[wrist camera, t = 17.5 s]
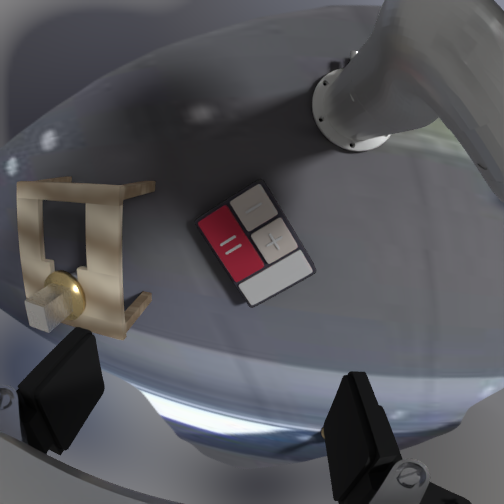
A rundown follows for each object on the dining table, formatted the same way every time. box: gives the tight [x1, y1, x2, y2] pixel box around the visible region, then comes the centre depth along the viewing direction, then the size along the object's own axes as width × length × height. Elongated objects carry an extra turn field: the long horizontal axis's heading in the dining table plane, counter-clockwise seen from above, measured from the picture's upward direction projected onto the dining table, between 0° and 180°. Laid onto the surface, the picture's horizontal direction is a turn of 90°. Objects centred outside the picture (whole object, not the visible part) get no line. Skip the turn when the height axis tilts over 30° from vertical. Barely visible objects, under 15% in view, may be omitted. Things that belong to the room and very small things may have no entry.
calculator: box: [195, 179, 316, 308], centre depth 42 cm, size 11×4×15 cm
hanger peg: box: [25, 264, 87, 333], centre depth 36 cm, size 7×7×16 cm
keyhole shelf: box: [17, 177, 156, 341], centre depth 39 cm, size 20×18×12 cm
